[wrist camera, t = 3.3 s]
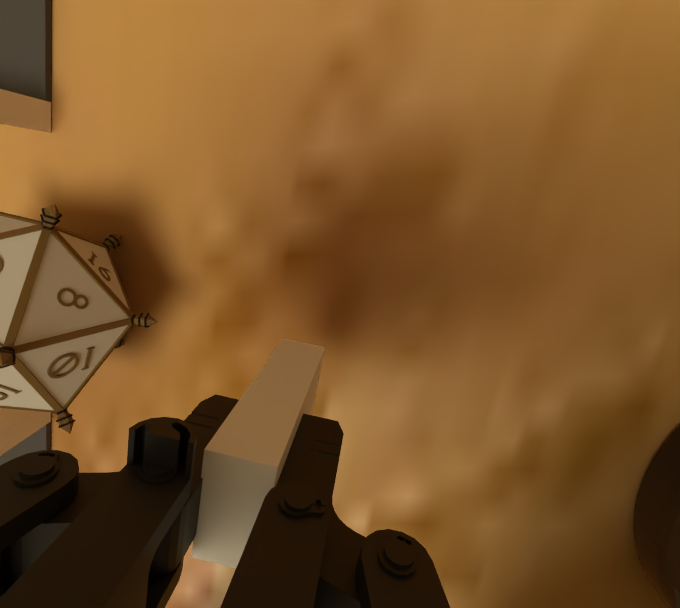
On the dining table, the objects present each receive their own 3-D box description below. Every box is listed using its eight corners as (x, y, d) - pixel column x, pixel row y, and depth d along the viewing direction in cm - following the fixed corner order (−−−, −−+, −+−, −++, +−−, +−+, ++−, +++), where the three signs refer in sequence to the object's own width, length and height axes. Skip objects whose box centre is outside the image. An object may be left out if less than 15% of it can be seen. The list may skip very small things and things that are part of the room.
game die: (108, 247, 23) (-133, 111, 14) (229, 278, 20) (9, 122, 11) (25, 406, 21) (-315, 362, 12) (144, 472, 18) (-215, 478, 9)
